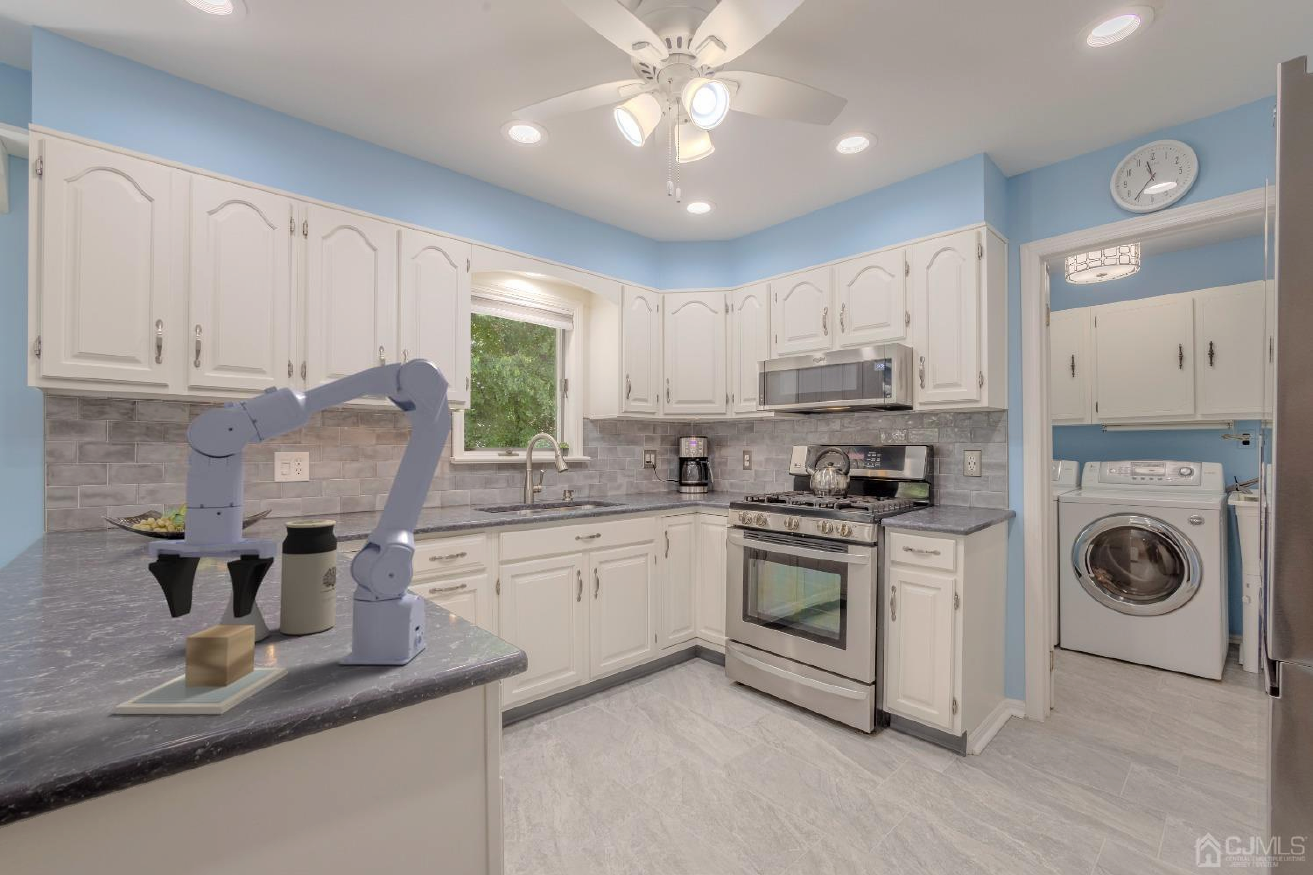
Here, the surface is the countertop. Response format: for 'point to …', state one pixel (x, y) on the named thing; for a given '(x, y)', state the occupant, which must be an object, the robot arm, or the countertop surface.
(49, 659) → the countertop surface
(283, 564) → the travel mug
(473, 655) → the countertop surface
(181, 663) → the countertop surface
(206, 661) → the oak block
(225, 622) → the flask
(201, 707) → the picture frame
